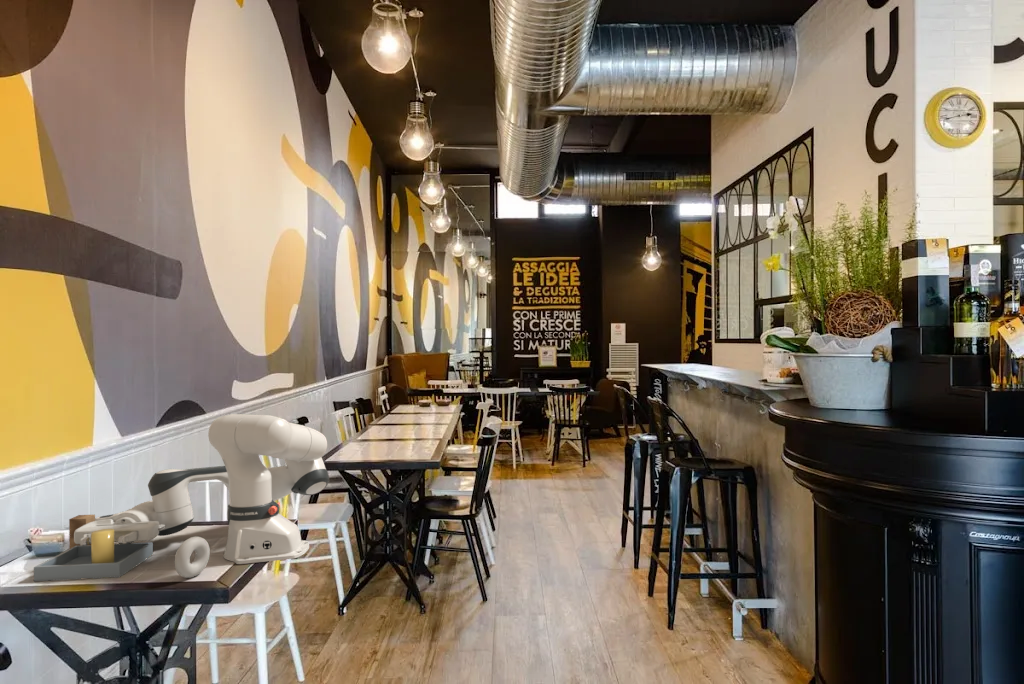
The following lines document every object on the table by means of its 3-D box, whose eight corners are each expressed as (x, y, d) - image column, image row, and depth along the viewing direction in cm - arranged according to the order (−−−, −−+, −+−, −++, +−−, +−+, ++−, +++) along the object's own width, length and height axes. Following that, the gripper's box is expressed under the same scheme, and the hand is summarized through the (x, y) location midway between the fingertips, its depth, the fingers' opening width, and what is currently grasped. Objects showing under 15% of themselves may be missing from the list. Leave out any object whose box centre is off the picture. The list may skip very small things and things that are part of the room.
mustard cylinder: (118, 566, 166) (118, 528, 166) (107, 573, 161) (107, 533, 161) (98, 567, 165) (98, 529, 165) (87, 574, 160) (87, 534, 160)
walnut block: (95, 548, 183) (95, 514, 183) (86, 553, 179) (85, 518, 179) (79, 549, 183) (78, 515, 183) (69, 554, 178) (69, 519, 179)
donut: (182, 584, 153) (181, 543, 153) (171, 583, 154) (170, 542, 155) (213, 570, 163) (212, 532, 163) (202, 569, 164) (202, 531, 164)
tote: (152, 554, 177) (152, 542, 177) (119, 577, 159) (119, 563, 159) (76, 558, 175) (76, 545, 175) (33, 581, 157) (33, 567, 157)
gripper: (168, 535, 178) (144, 551, 164) (92, 539, 176) (61, 555, 162) (167, 513, 178) (144, 527, 164) (91, 517, 176) (61, 531, 162)
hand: (102, 541), depth 163 cm, fingers open, 8 cm apart
